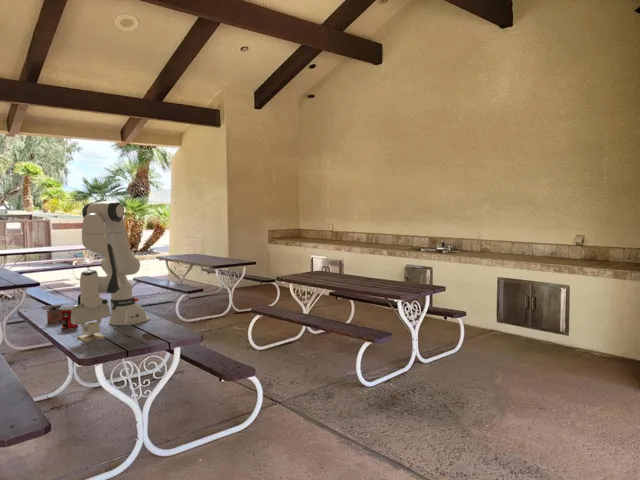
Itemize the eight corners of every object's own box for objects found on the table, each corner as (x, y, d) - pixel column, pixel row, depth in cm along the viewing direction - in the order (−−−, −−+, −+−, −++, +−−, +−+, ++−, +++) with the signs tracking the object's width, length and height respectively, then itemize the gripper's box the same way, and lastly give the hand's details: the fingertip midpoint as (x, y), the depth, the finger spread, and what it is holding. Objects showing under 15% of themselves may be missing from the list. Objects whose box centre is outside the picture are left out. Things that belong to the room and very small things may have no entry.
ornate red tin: (47, 324, 270) (46, 307, 269) (46, 323, 273) (46, 306, 272) (63, 322, 275) (62, 305, 274) (62, 321, 277) (61, 304, 277)
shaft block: (97, 334, 248) (96, 321, 248) (106, 337, 242) (105, 324, 241) (77, 338, 241) (76, 324, 240) (85, 341, 234) (85, 327, 234)
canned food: (60, 327, 263) (59, 307, 262) (76, 324, 268) (75, 305, 267) (63, 330, 257) (62, 310, 256) (79, 327, 262) (79, 308, 262)
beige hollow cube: (92, 330, 245) (92, 320, 244) (99, 332, 242) (99, 321, 242) (82, 333, 240) (82, 322, 239) (90, 334, 237) (89, 323, 237)
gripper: (75, 307, 229) (76, 335, 230) (111, 299, 247) (112, 325, 248) (67, 305, 232) (68, 333, 233) (103, 298, 250) (104, 324, 251)
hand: (91, 329), depth 241 cm, fingers closed on beige hollow cube, 5 cm apart
